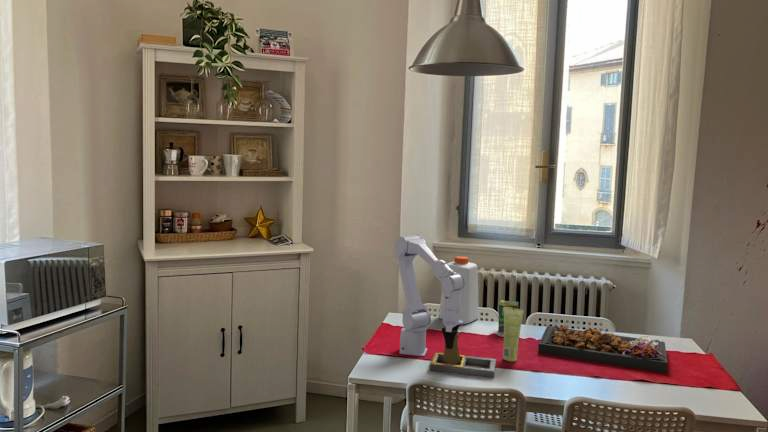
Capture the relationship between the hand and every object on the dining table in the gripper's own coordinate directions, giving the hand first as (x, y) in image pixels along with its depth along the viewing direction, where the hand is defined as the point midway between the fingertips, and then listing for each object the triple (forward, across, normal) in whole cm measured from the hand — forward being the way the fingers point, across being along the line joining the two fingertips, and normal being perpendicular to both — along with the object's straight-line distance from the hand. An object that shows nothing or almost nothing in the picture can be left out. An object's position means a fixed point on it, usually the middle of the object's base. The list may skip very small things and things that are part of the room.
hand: (450, 345), depth 220 cm
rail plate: (+8, 0, -5) cm, 9 cm away
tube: (+8, +14, -21) cm, 26 cm away
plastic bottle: (+8, +59, +3) cm, 60 cm away
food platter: (+9, +33, -55) cm, 65 cm away
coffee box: (+8, +47, -19) cm, 51 cm away
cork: (+6, 0, -1) cm, 6 cm away
